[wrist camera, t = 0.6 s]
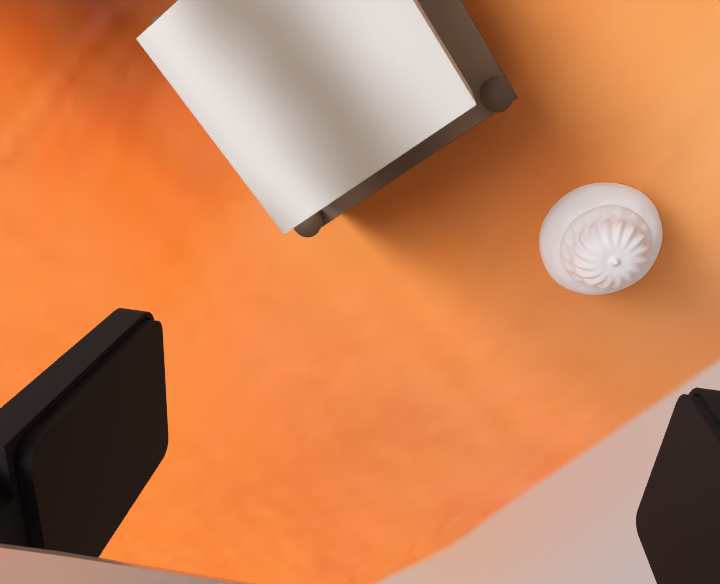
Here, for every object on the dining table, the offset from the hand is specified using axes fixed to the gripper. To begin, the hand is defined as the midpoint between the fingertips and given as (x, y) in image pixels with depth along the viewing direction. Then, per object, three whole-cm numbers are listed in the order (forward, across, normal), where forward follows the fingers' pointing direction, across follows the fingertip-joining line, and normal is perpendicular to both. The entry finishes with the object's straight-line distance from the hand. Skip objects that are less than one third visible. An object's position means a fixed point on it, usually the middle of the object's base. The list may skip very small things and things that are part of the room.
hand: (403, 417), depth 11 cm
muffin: (+26, -9, +3) cm, 28 cm away
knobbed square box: (+26, +5, -5) cm, 27 cm away
